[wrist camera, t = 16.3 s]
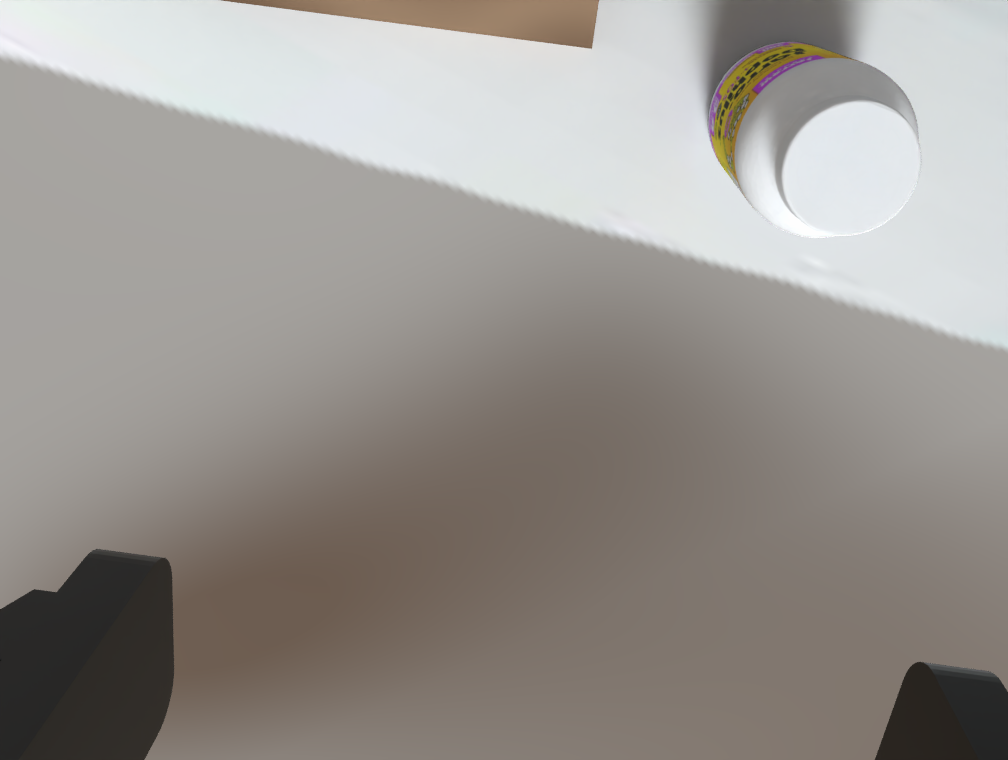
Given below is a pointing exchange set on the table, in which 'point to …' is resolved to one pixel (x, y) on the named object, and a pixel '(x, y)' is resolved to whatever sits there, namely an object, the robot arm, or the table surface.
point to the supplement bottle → (815, 140)
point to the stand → (469, 16)
